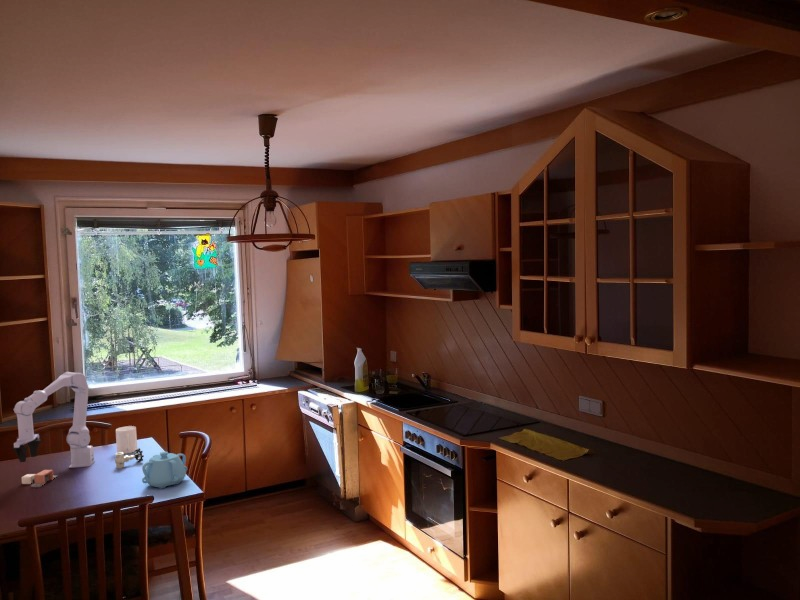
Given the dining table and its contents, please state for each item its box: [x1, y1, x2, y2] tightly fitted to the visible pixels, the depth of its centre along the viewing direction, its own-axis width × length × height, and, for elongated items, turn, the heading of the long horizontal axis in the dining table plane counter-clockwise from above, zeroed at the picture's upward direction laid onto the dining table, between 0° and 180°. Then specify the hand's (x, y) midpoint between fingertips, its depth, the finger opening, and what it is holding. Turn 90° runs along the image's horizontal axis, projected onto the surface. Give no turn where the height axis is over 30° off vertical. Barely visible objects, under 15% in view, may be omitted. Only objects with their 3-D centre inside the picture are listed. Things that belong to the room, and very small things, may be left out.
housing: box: [30, 469, 58, 488], centre depth 289 cm, size 4×13×4 cm, turn 175°
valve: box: [114, 447, 144, 469], centre depth 309 cm, size 7×7×12 cm
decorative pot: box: [141, 451, 188, 489], centre depth 280 cm, size 16×16×14 cm
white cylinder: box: [115, 425, 138, 455], centre depth 330 cm, size 10×12×12 cm
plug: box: [21, 473, 50, 485], centre depth 289 cm, size 10×4×3 cm, turn 85°
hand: (28, 459), depth 290 cm, fingers open, 7 cm apart
